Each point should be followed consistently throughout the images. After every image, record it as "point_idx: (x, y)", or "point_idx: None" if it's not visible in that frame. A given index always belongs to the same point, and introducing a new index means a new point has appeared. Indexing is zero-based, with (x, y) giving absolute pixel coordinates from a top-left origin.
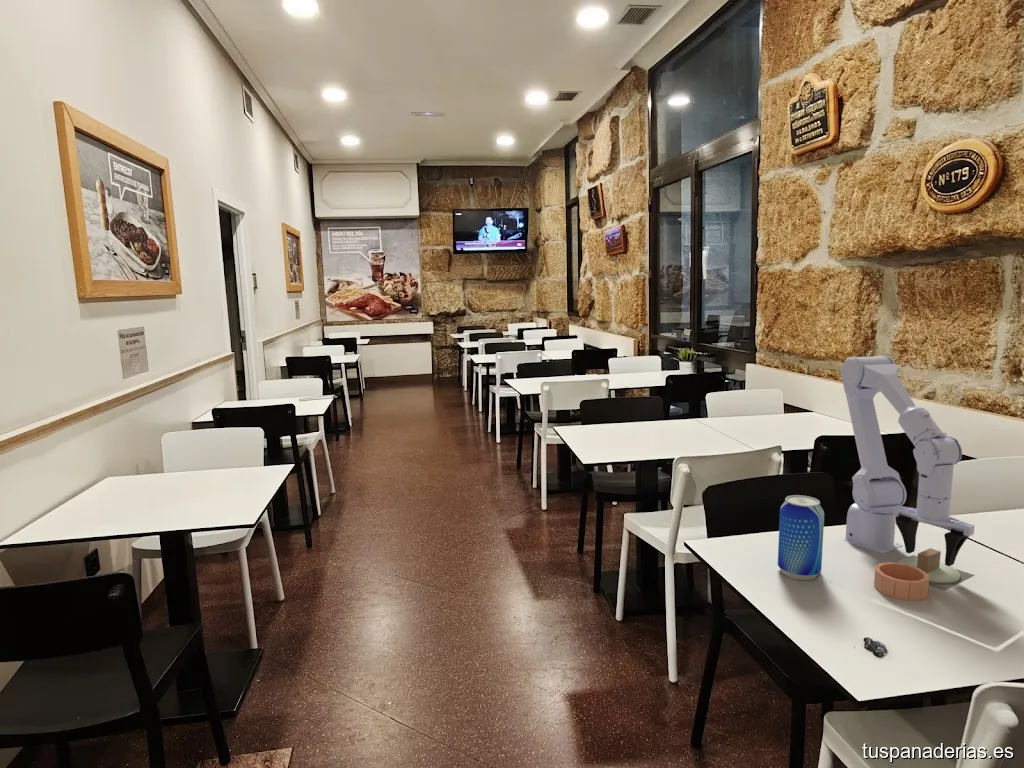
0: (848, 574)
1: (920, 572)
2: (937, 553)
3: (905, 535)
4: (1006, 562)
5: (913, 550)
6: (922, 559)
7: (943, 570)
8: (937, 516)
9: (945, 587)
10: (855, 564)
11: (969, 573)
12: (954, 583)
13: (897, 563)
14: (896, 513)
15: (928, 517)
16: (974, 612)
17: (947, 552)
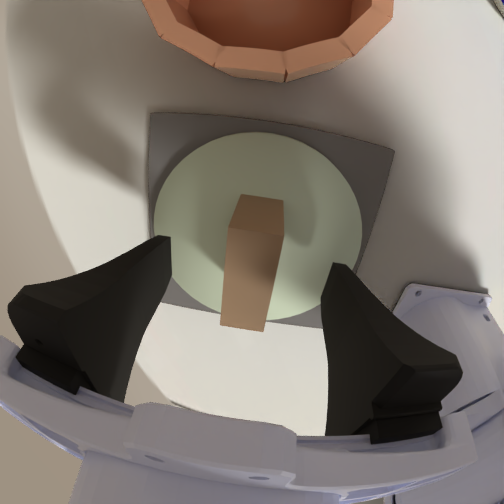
0: (454, 42)
1: (197, 32)
2: (222, 302)
3: (376, 316)
4: (170, 389)
5: (323, 295)
6: (259, 221)
7: (212, 264)
8: (86, 491)
9: (157, 138)
10: (466, 145)
11: (168, 303)
12: (154, 199)
13: (332, 52)
14: (458, 429)
15: (164, 493)
16: (64, 63)
17: (130, 263)
